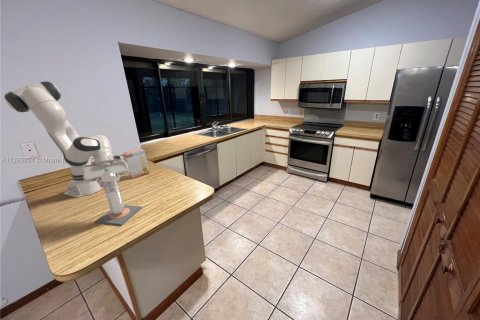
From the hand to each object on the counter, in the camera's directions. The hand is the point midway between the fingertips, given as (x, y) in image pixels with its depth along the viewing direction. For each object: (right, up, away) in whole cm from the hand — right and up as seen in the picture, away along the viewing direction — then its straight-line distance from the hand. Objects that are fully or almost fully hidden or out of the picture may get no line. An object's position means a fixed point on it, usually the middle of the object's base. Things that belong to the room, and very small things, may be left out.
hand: (110, 184), depth 102 cm
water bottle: (0, -16, +6) cm, 17 cm away
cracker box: (-15, 0, +59) cm, 61 cm away
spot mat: (+1, -18, +7) cm, 19 cm away
